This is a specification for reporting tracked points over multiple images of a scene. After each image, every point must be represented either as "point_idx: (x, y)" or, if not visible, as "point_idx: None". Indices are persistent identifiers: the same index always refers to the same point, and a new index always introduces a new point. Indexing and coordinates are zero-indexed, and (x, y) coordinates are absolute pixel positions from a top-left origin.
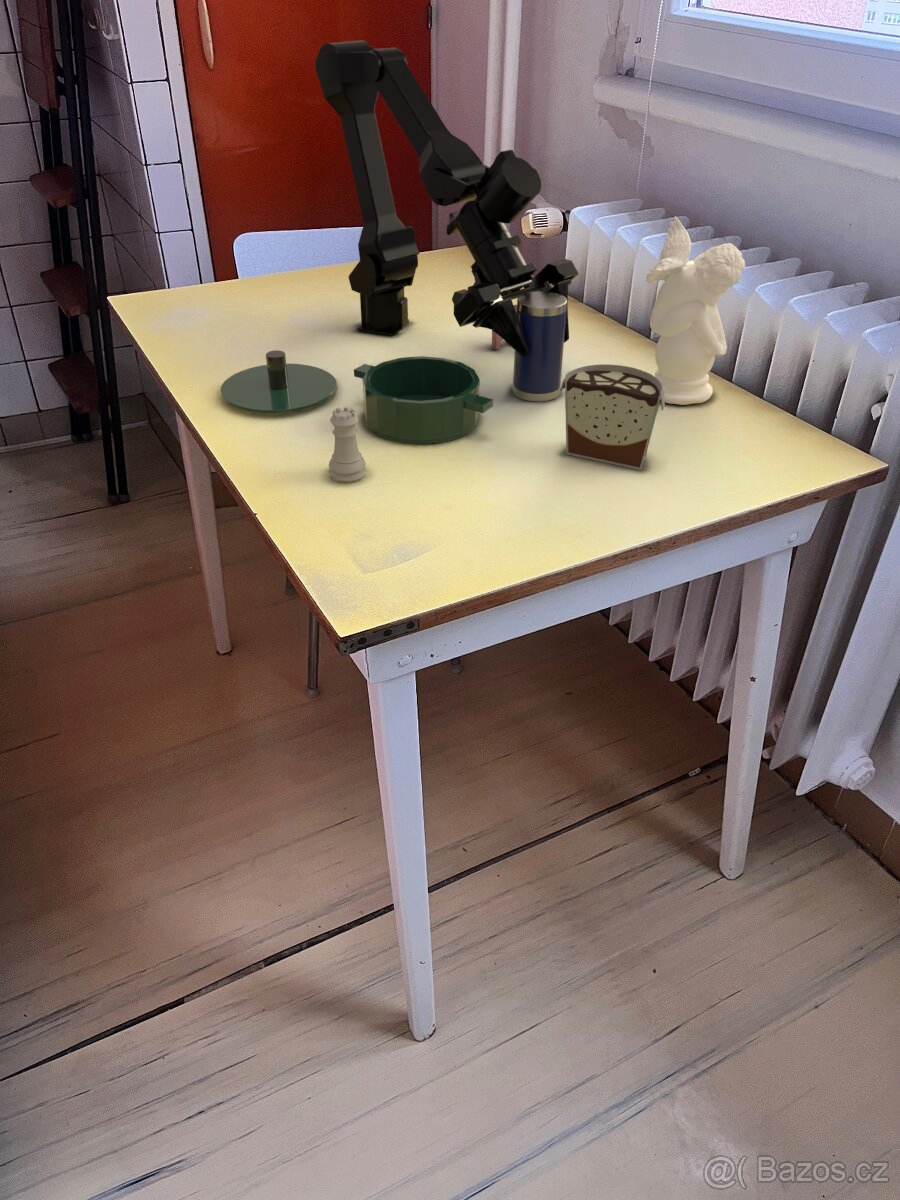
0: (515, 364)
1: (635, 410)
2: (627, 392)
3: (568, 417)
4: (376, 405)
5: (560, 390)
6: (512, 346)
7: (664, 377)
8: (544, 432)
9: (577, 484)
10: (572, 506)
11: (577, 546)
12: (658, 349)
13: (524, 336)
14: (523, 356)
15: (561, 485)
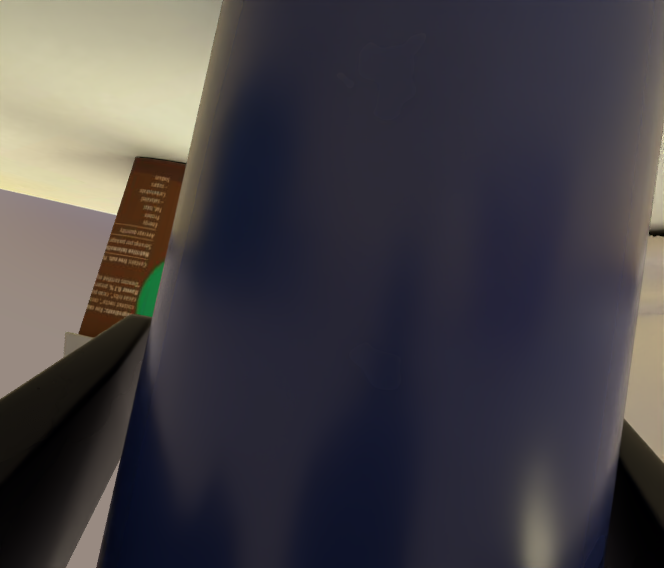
0: (191, 161)
1: None
2: None
3: (110, 261)
4: None
5: (67, 333)
6: (32, 386)
7: (649, 313)
8: (143, 110)
9: (92, 175)
10: (46, 177)
11: (10, 186)
12: (657, 407)
13: (104, 482)
14: (132, 320)
15: (55, 164)
